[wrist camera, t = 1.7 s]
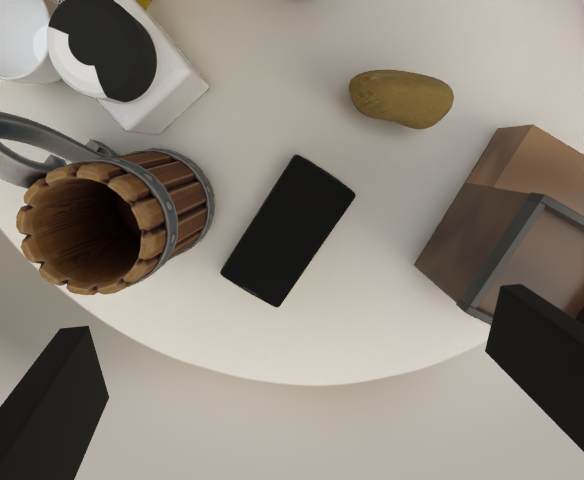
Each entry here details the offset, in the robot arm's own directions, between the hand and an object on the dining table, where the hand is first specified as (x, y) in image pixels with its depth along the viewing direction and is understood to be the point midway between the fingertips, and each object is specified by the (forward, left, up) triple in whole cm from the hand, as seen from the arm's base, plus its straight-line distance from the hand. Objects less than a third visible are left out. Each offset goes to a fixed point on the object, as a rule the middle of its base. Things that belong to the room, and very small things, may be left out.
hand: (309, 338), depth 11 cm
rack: (-9, +19, -26) cm, 33 cm away
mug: (+4, -15, -26) cm, 30 cm away
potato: (-14, +3, -26) cm, 30 cm away
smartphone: (+2, 0, -26) cm, 26 cm away
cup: (-4, -28, -26) cm, 38 cm away
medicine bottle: (-5, -17, -26) cm, 32 cm away
